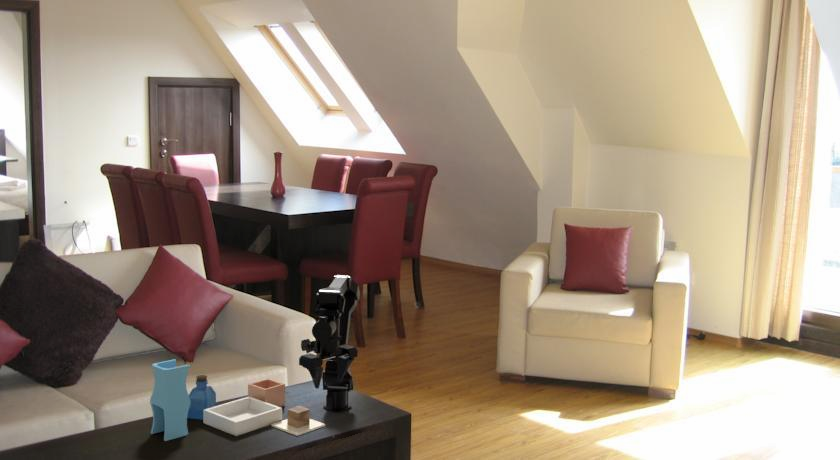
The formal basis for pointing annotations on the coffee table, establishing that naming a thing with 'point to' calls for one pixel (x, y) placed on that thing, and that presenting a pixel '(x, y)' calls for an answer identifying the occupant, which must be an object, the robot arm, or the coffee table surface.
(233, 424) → the white bin
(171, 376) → the vase
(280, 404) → the terracotta pot
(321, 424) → the cream coaster
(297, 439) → the coffee table surface
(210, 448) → the coffee table surface
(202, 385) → the perfume bottle
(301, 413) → the walnut block
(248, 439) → the coffee table surface
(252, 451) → the coffee table surface
